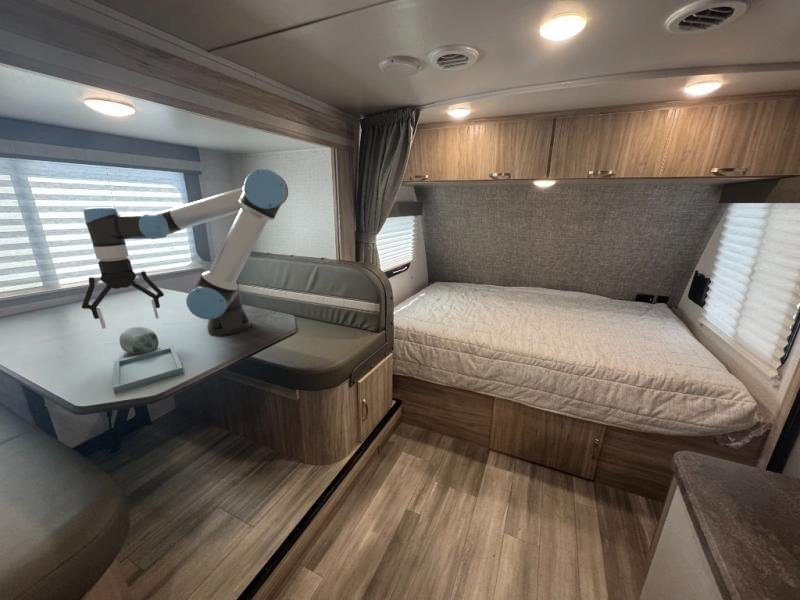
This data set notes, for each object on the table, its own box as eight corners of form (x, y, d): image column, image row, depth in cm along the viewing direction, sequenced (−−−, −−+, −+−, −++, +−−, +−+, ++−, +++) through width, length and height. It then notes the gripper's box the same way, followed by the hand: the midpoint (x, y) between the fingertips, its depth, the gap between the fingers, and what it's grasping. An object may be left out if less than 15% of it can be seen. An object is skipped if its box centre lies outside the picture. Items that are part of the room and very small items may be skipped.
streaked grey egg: (169, 340, 107) (144, 320, 102) (144, 362, 101) (115, 342, 96) (159, 339, 116) (135, 321, 111) (134, 360, 110) (108, 341, 105)
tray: (175, 351, 106) (174, 345, 106) (183, 373, 92) (182, 367, 92) (116, 366, 97) (114, 361, 96) (115, 394, 83) (113, 387, 82)
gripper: (161, 253, 108) (175, 310, 114) (57, 262, 92) (80, 328, 99) (163, 255, 102) (178, 316, 109) (54, 265, 87) (78, 335, 93)
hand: (131, 322), depth 104 cm, fingers open, 13 cm apart
